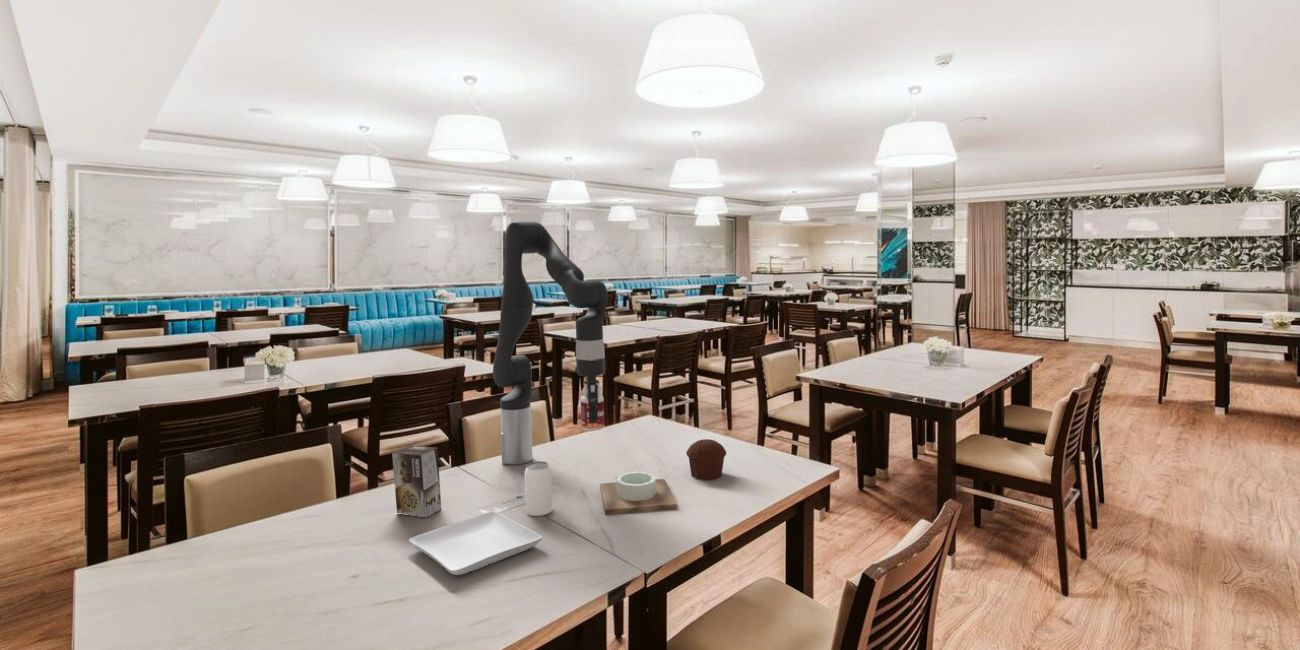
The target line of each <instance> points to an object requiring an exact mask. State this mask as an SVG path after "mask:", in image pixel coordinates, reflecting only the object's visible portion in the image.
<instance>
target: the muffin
mask: <svg viewBox="0 0 1300 650" xmlns="http://www.w3.org/2000/svg"><path fill="white" fill-rule="evenodd" d="M685 454H686V457H688V463H689V469H690V474H691V477H692V478H695V479H697V480H701V481H711V480H712V481H713V480H717V479H719V478H721V477H722V475H723V468H724V460H725V458H726V455H727V451H726V449H725V448H724V446H723V445H722V444H721V443H719V442H718V441H716V440H714V439H699V440H696V441H695V442H693V443H692V444H691V445H689V447H688V449H687V450H686V453H685Z"/></svg>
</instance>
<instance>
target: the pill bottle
mask: <svg viewBox="0 0 1300 650" xmlns="http://www.w3.org/2000/svg"><path fill="white" fill-rule="evenodd" d="M587 389H588V388H587ZM601 390H602V388H601V386H599V399H598V404H599V405H598V408H597V412H598V421H597V422H590V421H589V408H588V400H587V399H586V390H585V388H584V387H583V388H582V392H583V395H582V396H581V398H580V417H581V418H580V421H581V422H580V425H581V429H582V430H583V431H585V432H586V431H587V432H588V431H589V432H596V431H601V430H603V429H604V428H605V424H606V423H605V401H604V400H605V399H604V397H603V395H601V392H602V391H601ZM590 402H596V400H595V399H590Z"/></svg>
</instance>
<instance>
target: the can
mask: <svg viewBox="0 0 1300 650" xmlns="http://www.w3.org/2000/svg"><path fill="white" fill-rule="evenodd" d="M525 467H526V468H525V470H524V489H525V491H524V492H525V493H524V494H525V509H526V510H525V511H526V513H527V515H528V516H530V517H543V516H547V515H549V514H551V512H552V511H553V486H552V469H551V468H550V464H549V462H547V461H532V462H528V463H526V465H525Z"/></svg>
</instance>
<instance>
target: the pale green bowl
mask: <svg viewBox="0 0 1300 650" xmlns="http://www.w3.org/2000/svg"><path fill="white" fill-rule="evenodd" d="M616 482H617V494H618V497H620V498H622V499H624V500H630V501H641V500H647V499H650V498H653V497H654V496H655V495H656V476H655V475H654V474H652V473H650V472H644V471H629V472H625V473H622V474H620V475H619V476H618V477H616Z"/></svg>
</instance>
